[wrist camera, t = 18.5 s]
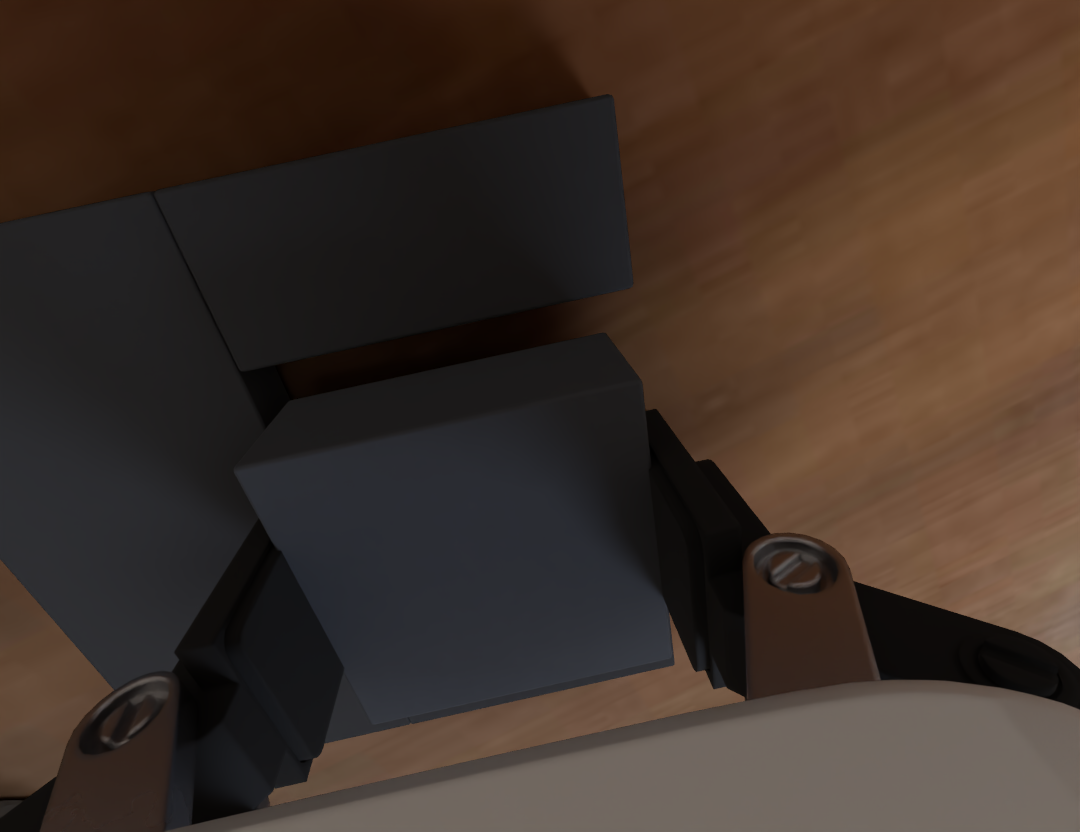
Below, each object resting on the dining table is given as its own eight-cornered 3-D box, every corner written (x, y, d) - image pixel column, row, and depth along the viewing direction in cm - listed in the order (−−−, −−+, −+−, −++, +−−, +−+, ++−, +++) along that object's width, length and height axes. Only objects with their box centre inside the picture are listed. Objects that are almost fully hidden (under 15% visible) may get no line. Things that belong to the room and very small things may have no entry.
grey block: (287, 399, 10) (229, 469, 8) (605, 330, 10) (643, 379, 8) (390, 625, 13) (370, 726, 11) (638, 571, 13) (673, 659, 11)
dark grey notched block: (-147, 260, 9) (-250, 276, 8) (595, 102, 10) (614, 92, 8) (211, 723, 16) (187, 775, 14) (658, 623, 16) (674, 665, 15)
